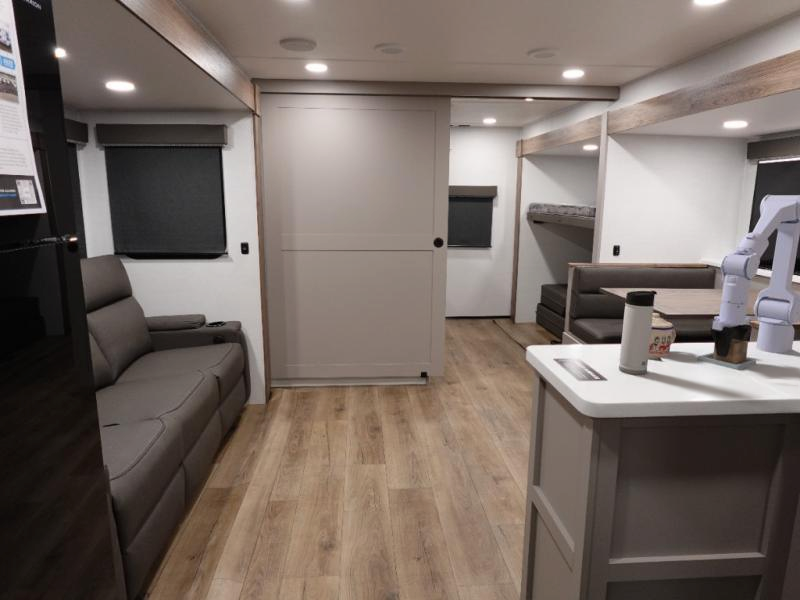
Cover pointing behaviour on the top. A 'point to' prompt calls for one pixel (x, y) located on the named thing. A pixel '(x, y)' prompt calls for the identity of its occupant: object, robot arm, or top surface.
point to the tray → (739, 366)
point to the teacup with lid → (660, 337)
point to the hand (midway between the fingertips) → (727, 354)
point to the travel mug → (636, 332)
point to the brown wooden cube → (734, 352)
